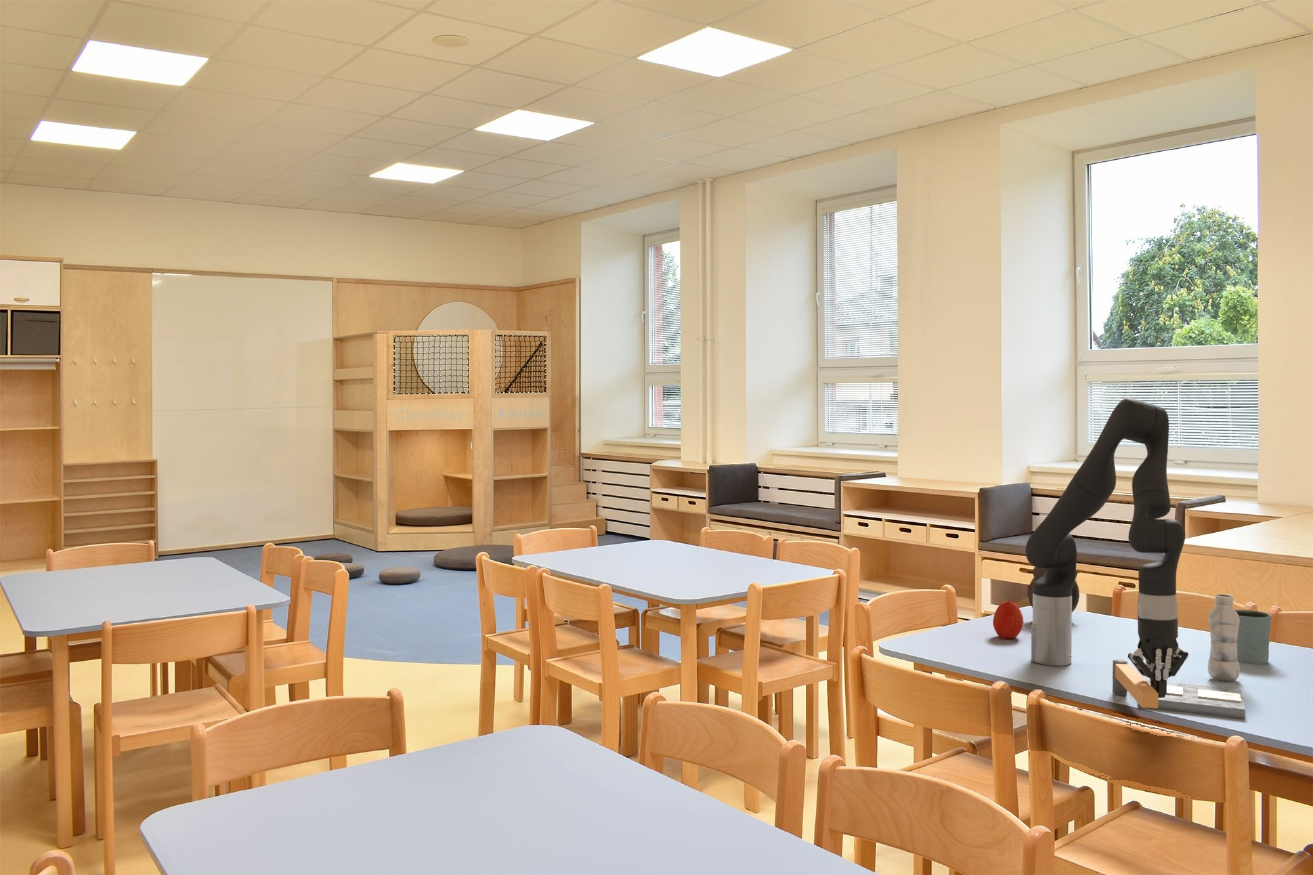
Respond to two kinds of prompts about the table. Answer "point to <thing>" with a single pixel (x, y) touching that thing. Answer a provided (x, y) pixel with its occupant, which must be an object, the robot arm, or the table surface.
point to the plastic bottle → (1223, 639)
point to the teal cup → (1253, 637)
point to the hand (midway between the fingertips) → (1158, 696)
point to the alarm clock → (1039, 573)
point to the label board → (1203, 700)
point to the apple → (1008, 620)
